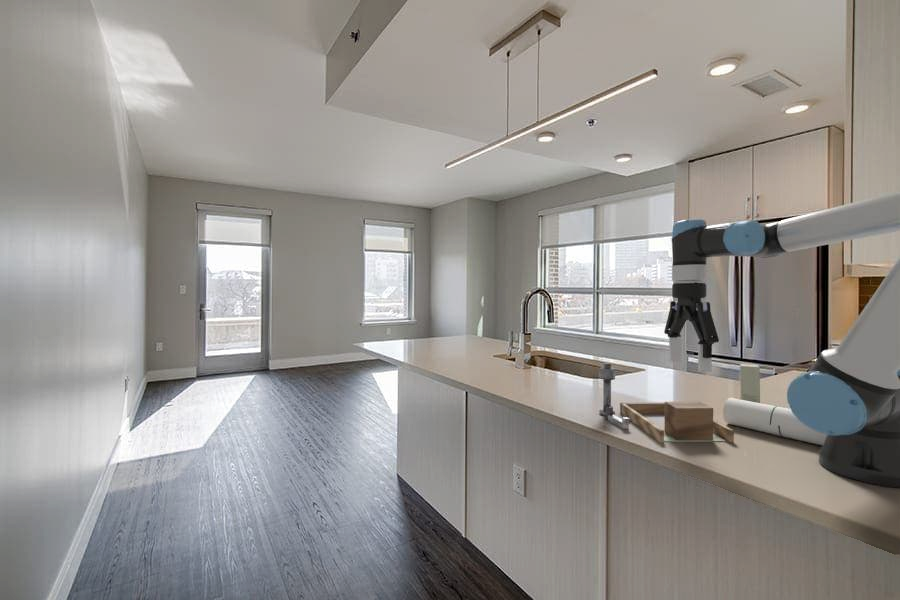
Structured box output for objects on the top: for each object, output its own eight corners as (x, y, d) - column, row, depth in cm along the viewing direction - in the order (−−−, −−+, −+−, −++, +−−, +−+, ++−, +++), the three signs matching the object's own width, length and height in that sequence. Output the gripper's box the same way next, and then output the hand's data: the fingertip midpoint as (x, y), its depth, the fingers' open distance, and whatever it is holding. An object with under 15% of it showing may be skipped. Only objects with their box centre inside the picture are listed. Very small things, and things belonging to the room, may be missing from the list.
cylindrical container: (725, 428, 117) (846, 457, 96) (721, 404, 115) (844, 429, 95) (736, 416, 121) (855, 442, 100) (733, 393, 119) (853, 415, 99)
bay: (733, 442, 104) (733, 430, 104) (659, 442, 104) (660, 430, 104) (679, 412, 129) (679, 402, 129) (620, 412, 129) (620, 402, 129)
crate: (713, 440, 105) (713, 408, 105) (676, 440, 105) (676, 408, 105) (699, 431, 111) (699, 401, 111) (664, 432, 111) (664, 401, 111)
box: (759, 404, 136) (759, 364, 136) (760, 408, 132) (760, 367, 132) (739, 402, 139) (739, 363, 139) (739, 405, 135) (740, 365, 135)
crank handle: (631, 429, 114) (631, 416, 113) (624, 430, 113) (624, 416, 113) (610, 418, 124) (610, 405, 124) (604, 418, 123) (604, 406, 123)
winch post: (617, 416, 125) (617, 364, 125) (602, 416, 125) (602, 364, 125) (611, 411, 130) (611, 361, 129) (597, 412, 130) (597, 362, 129)
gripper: (736, 281, 94) (736, 376, 95) (677, 283, 119) (677, 358, 120) (702, 281, 94) (702, 376, 95) (651, 283, 119) (651, 358, 120)
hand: (689, 366), depth 107 cm, fingers open, 13 cm apart
